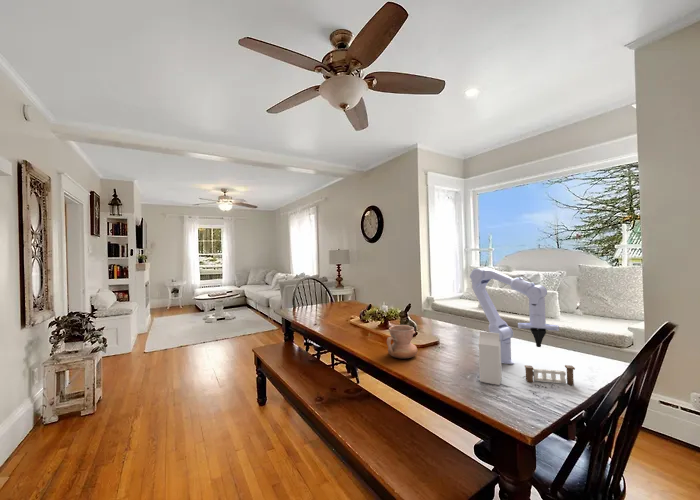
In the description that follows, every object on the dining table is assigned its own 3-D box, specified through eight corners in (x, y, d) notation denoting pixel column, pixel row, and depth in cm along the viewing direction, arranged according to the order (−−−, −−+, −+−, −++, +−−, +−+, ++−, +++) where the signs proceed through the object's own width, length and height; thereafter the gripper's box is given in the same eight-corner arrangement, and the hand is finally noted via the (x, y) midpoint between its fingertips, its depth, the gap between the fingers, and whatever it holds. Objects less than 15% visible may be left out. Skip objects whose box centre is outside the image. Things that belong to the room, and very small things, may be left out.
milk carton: (499, 385, 114) (498, 335, 114) (479, 381, 118) (478, 333, 118) (501, 378, 120) (500, 331, 120) (482, 375, 124) (481, 329, 124)
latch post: (526, 382, 116) (526, 367, 116) (525, 379, 118) (524, 365, 118) (534, 382, 115) (533, 368, 115) (532, 379, 118) (531, 365, 118)
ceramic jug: (405, 348, 160) (404, 322, 160) (425, 356, 147) (424, 327, 147) (378, 356, 150) (377, 328, 150) (397, 365, 138) (396, 334, 138)
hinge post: (568, 385, 112) (567, 367, 113) (565, 382, 115) (564, 365, 115) (575, 385, 112) (574, 368, 112) (572, 382, 114) (572, 365, 114)
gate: (565, 382, 114) (564, 371, 114) (566, 383, 113) (565, 372, 113) (533, 379, 118) (533, 368, 118) (534, 380, 116) (534, 369, 116)
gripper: (556, 313, 126) (557, 345, 126) (516, 311, 133) (517, 341, 133) (559, 316, 120) (560, 350, 120) (518, 314, 126) (519, 346, 126)
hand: (538, 346), depth 126 cm, fingers closed
